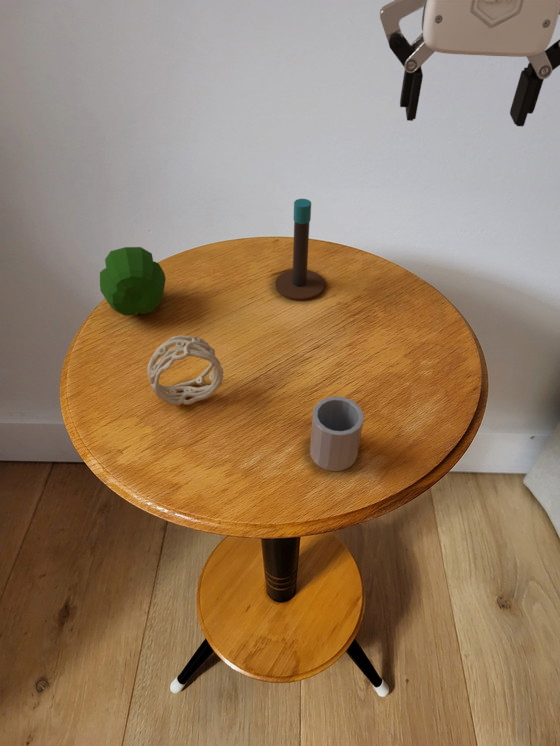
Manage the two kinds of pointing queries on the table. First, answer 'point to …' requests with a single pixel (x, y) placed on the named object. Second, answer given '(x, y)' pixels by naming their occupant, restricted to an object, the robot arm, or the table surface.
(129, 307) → the bell pepper
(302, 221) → the marker
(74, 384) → the table surface
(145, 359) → the table surface
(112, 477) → the table surface
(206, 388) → the bracelet
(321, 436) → the pot
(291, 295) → the coaster
